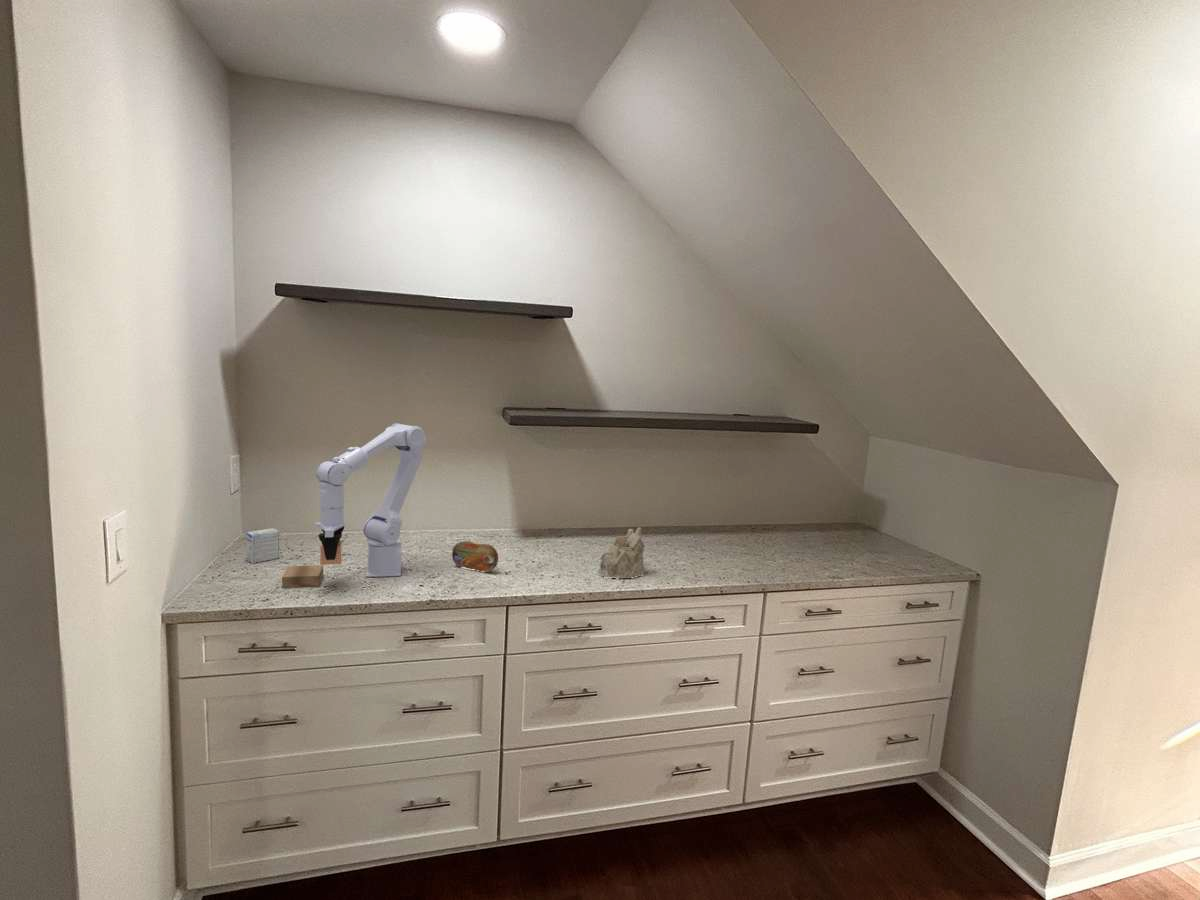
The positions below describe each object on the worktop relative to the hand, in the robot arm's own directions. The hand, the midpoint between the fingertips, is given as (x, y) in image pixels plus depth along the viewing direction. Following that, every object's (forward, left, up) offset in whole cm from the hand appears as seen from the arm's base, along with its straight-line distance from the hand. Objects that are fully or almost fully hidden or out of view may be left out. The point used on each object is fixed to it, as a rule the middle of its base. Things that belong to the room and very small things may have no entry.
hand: (331, 556), depth 170 cm
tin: (-39, -10, -9) cm, 41 cm away
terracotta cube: (0, 0, -2) cm, 2 cm away
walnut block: (+8, -5, -8) cm, 12 cm away
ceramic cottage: (-84, -4, -9) cm, 84 cm away
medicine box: (+22, -26, -9) cm, 35 cm away
